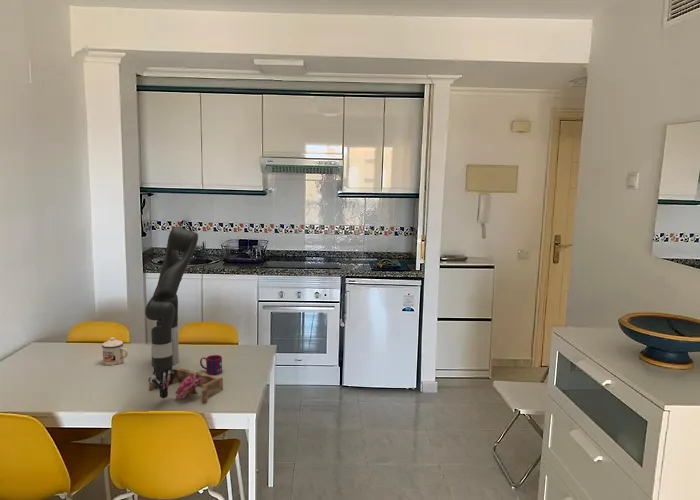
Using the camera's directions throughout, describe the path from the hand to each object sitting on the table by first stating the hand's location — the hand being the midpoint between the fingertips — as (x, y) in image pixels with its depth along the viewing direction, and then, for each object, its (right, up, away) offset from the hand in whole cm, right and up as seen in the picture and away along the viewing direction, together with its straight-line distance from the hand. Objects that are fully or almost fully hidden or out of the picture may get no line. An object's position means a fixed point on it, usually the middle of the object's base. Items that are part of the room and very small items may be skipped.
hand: (163, 397), depth 202 cm
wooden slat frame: (+5, -1, +13) cm, 14 cm away
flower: (+7, -2, +6) cm, 10 cm away
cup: (+10, +2, +33) cm, 34 cm away
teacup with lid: (-37, +4, +42) cm, 56 cm away
